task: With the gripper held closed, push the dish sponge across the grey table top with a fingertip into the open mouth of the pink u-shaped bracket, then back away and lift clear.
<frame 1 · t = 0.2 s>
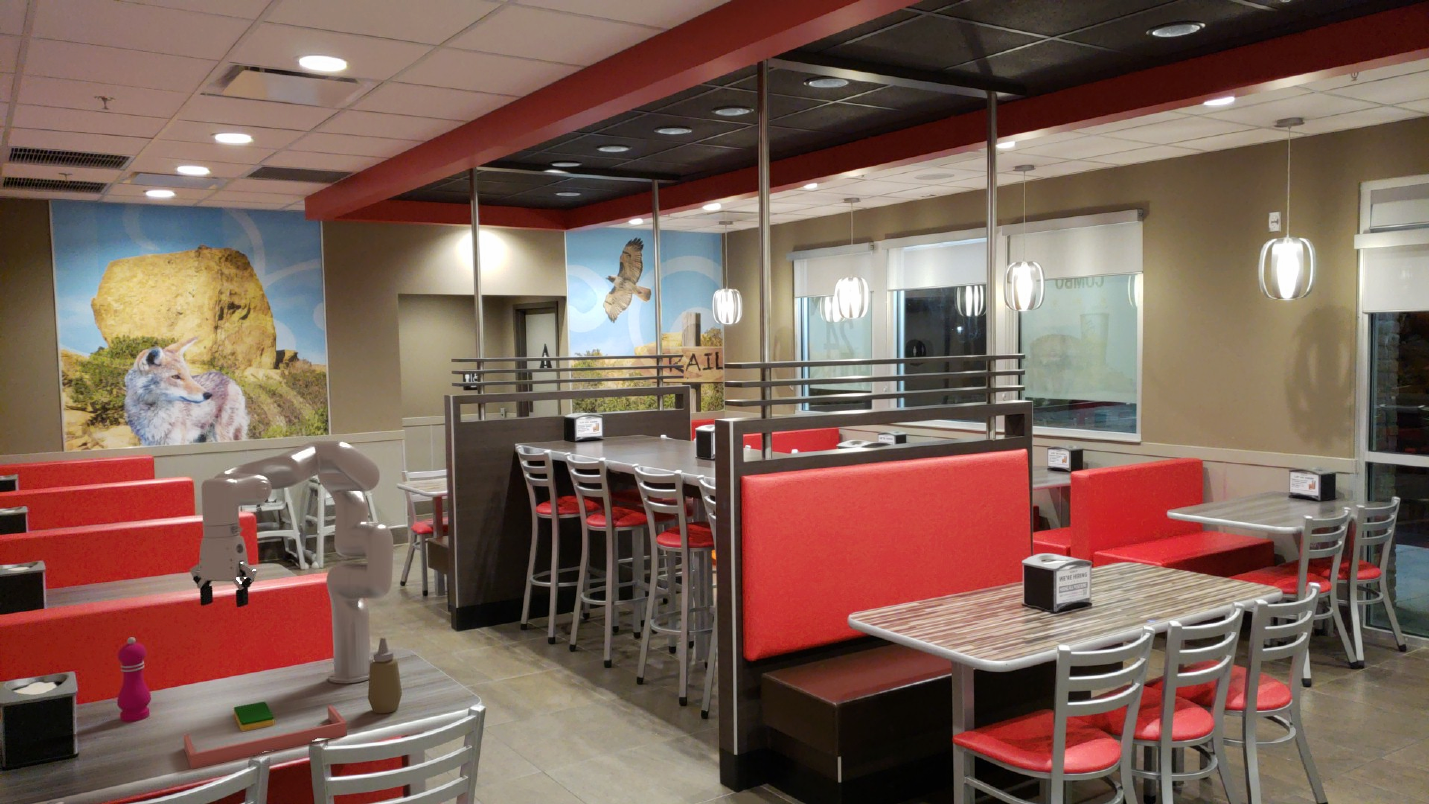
hand: (224, 605, 232), 31 cm above the table, tool pointing down, fingers open, 9 cm apart
dish sponge: (254, 722, 243), on the table
pepper mill: (135, 718, 247), on the table
squeeze bottle: (385, 711, 248), on the table
pink u-shaped bracket: (265, 739, 230), on the table
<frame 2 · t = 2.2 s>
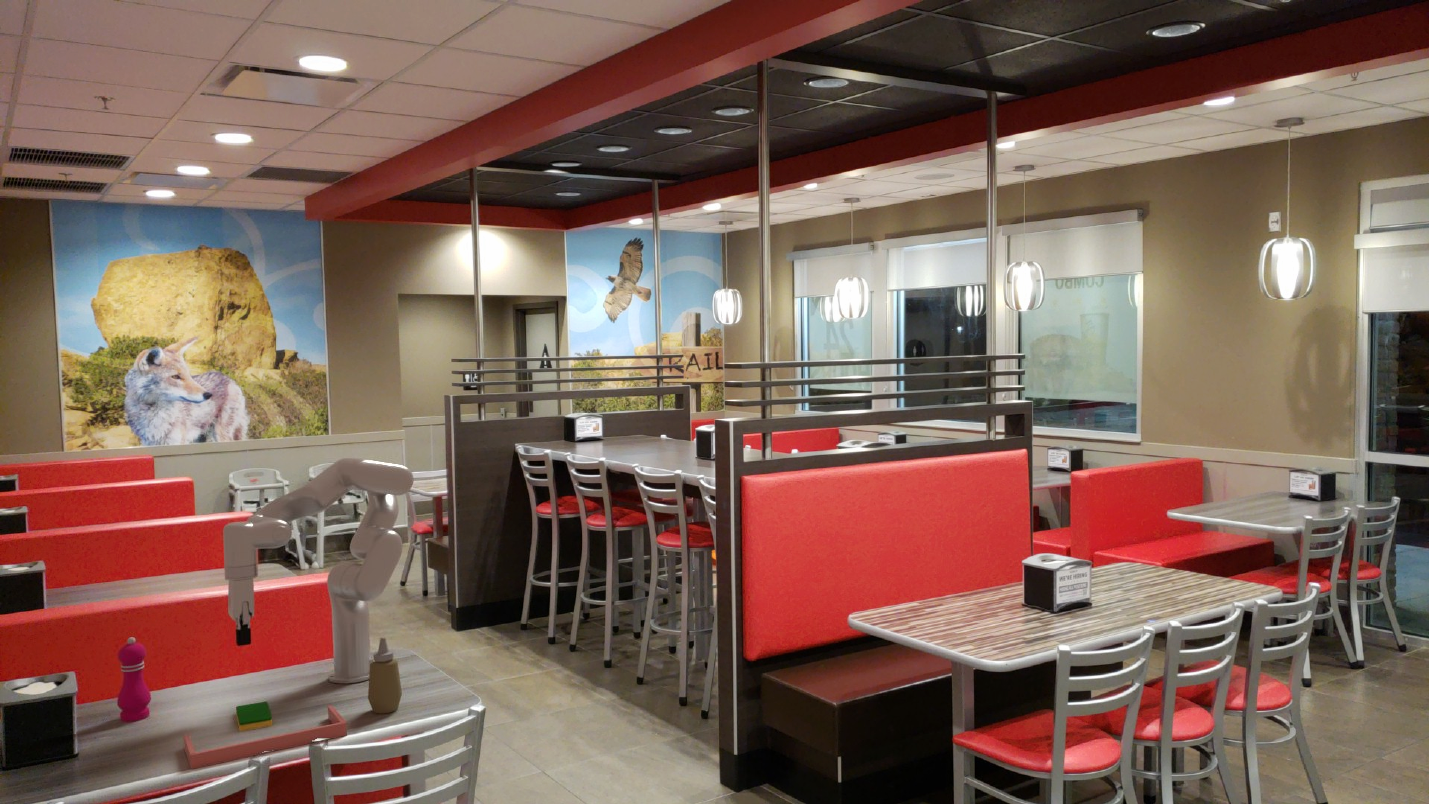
hand: (243, 644, 251), 16 cm above the table, tool pointing down, fingers closed
nothing on the table moved.
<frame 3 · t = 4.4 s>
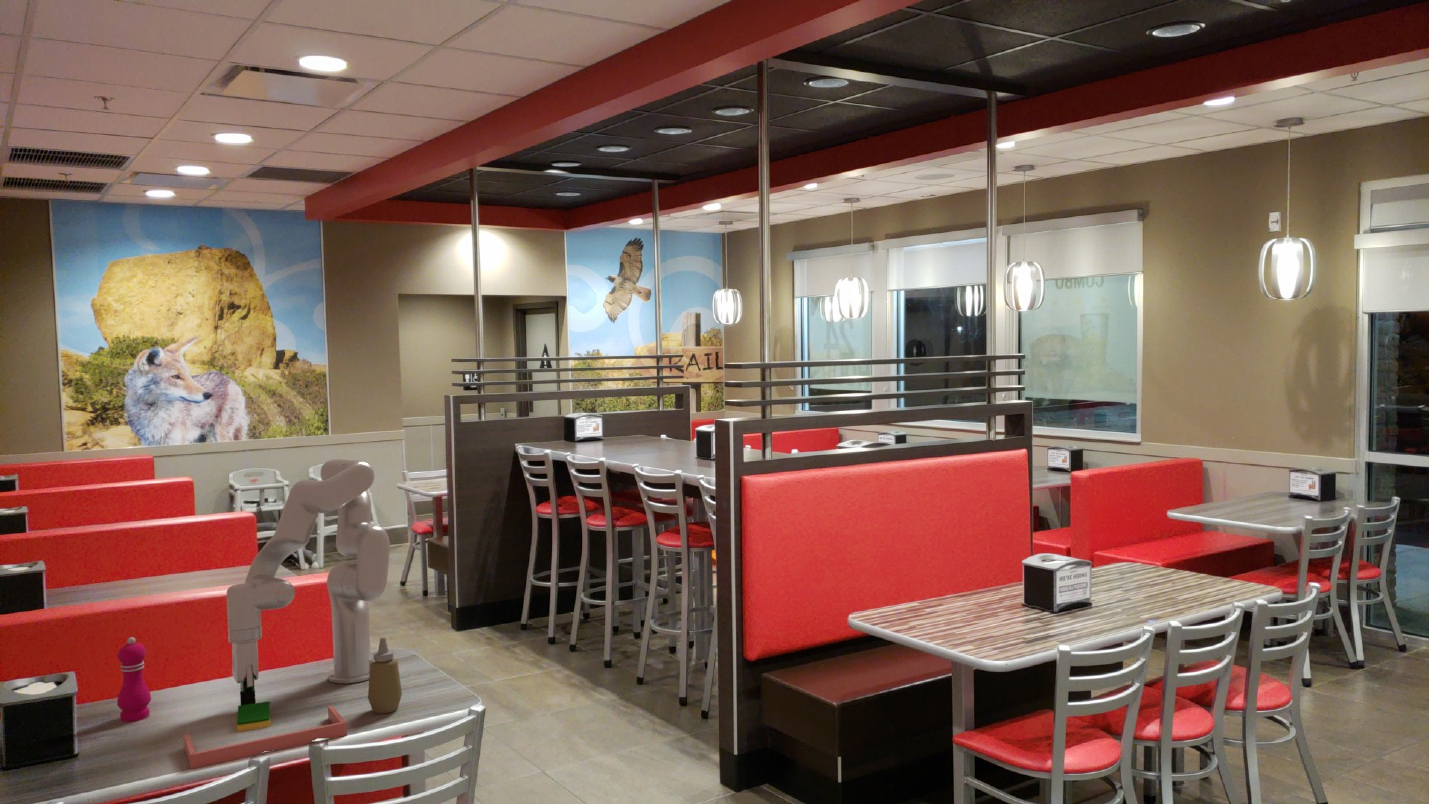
hand: (248, 706, 250), 1 cm above the table, tool pointing down, fingers closed
dish sponge: (254, 722, 243), on the table, touching gripper
everything else where it was.
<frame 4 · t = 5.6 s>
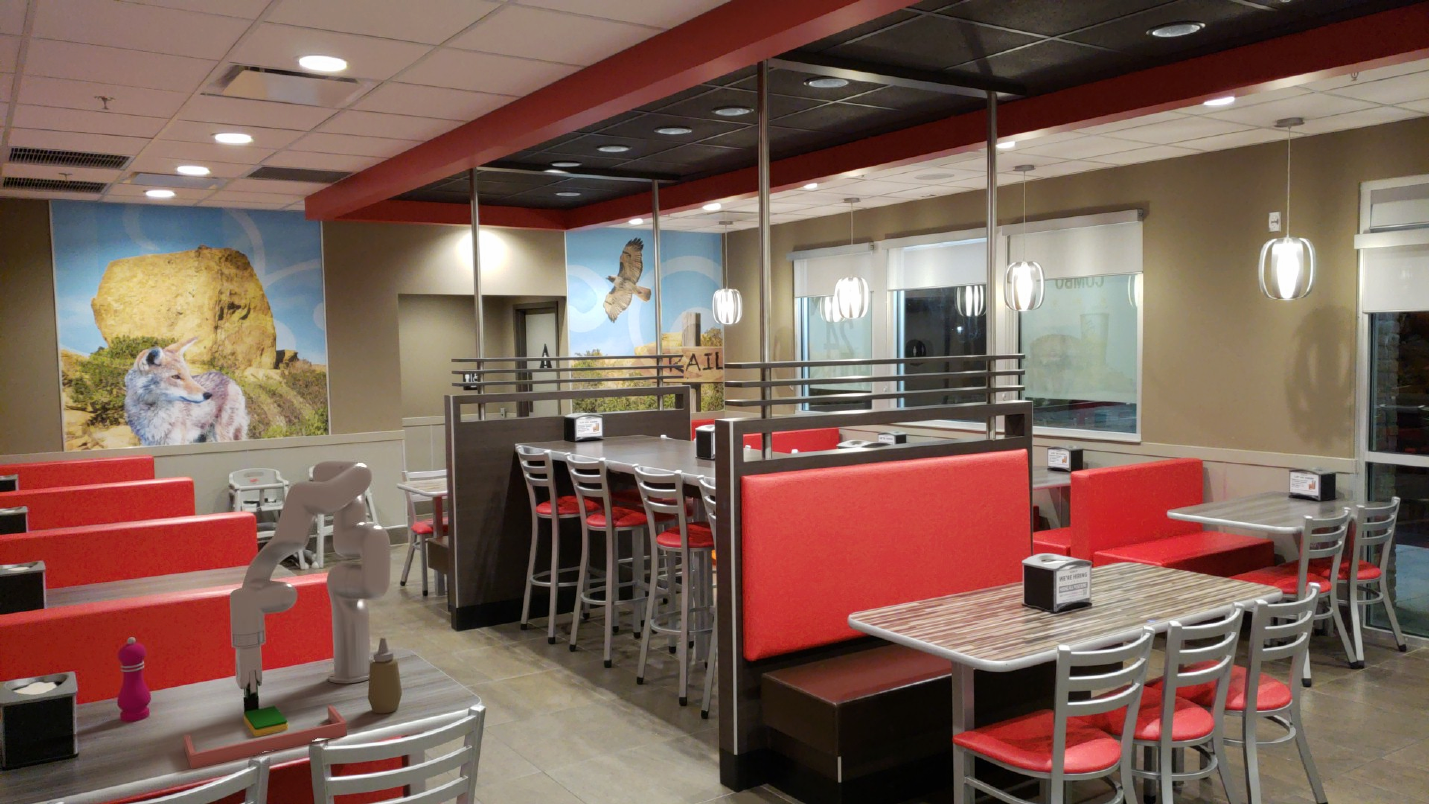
hand: (251, 712, 245), 1 cm above the table, tool pointing down, fingers closed
dish sponge: (265, 726, 239), on the table
everything else where it was.
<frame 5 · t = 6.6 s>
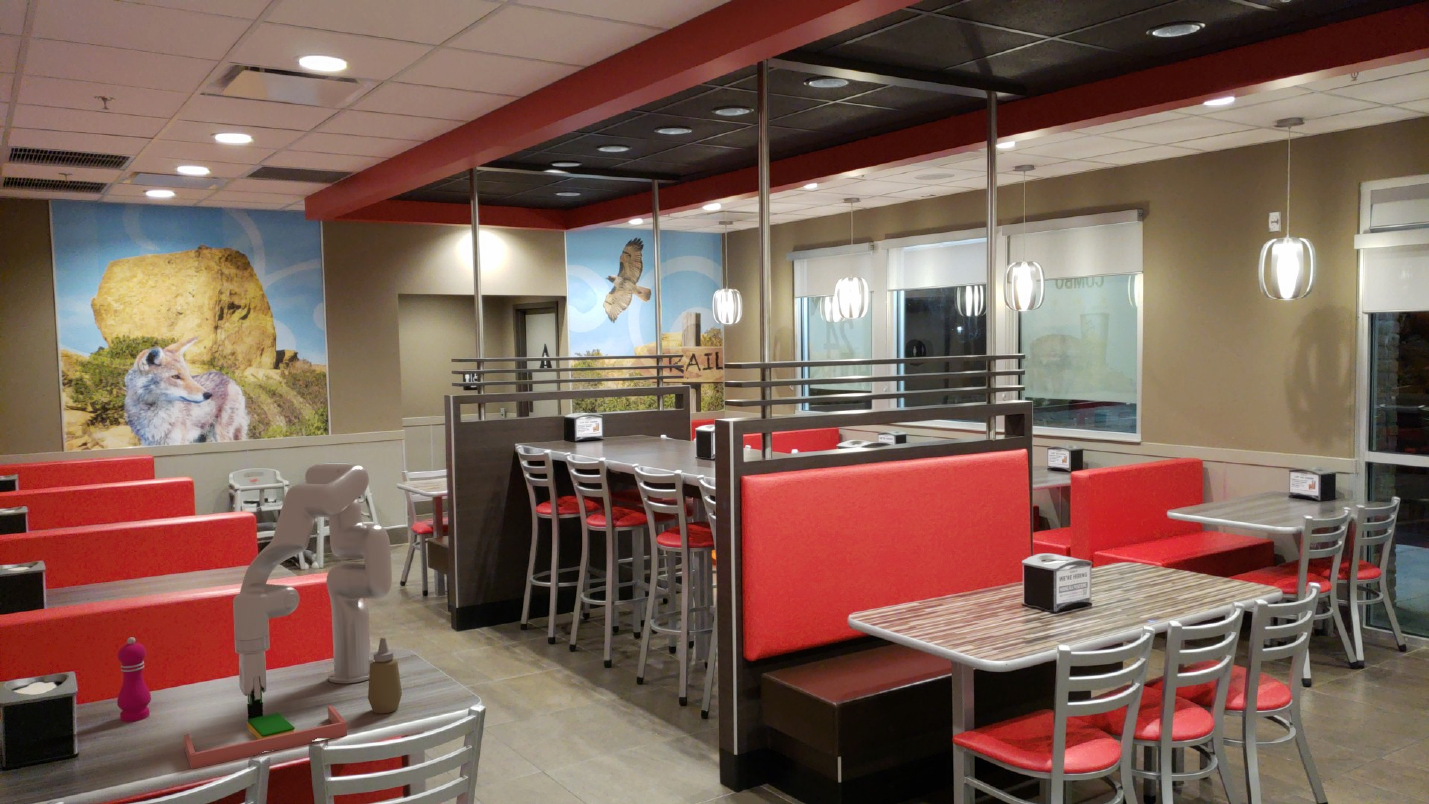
hand: (255, 719, 240), 1 cm above the table, tool pointing down, fingers closed
dish sponge: (271, 734, 235), on the table
everything else where it was.
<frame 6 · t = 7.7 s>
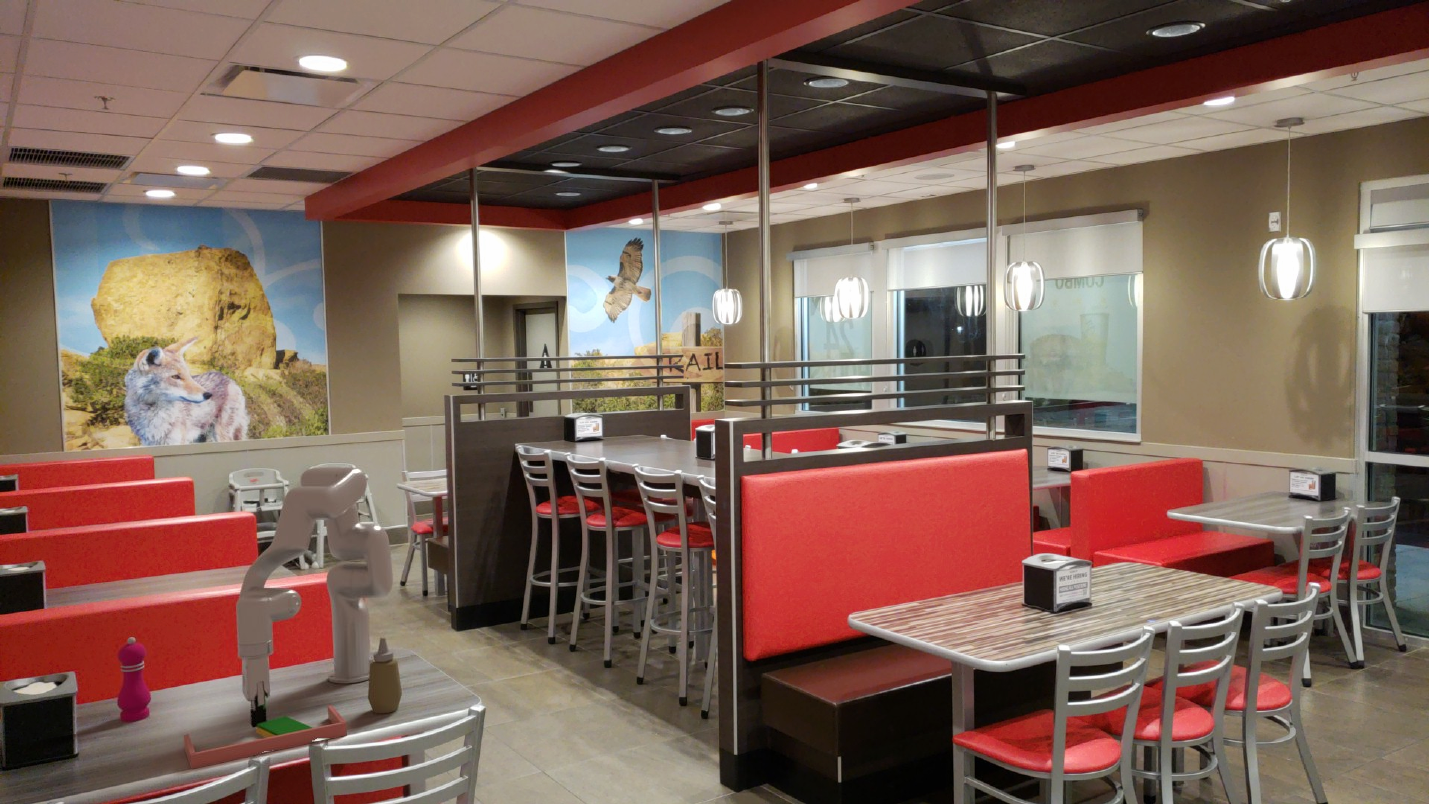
hand: (259, 725, 236), 1 cm above the table, tool pointing down, fingers closed
dish sponge: (285, 737, 232), on the table
everything else where it was.
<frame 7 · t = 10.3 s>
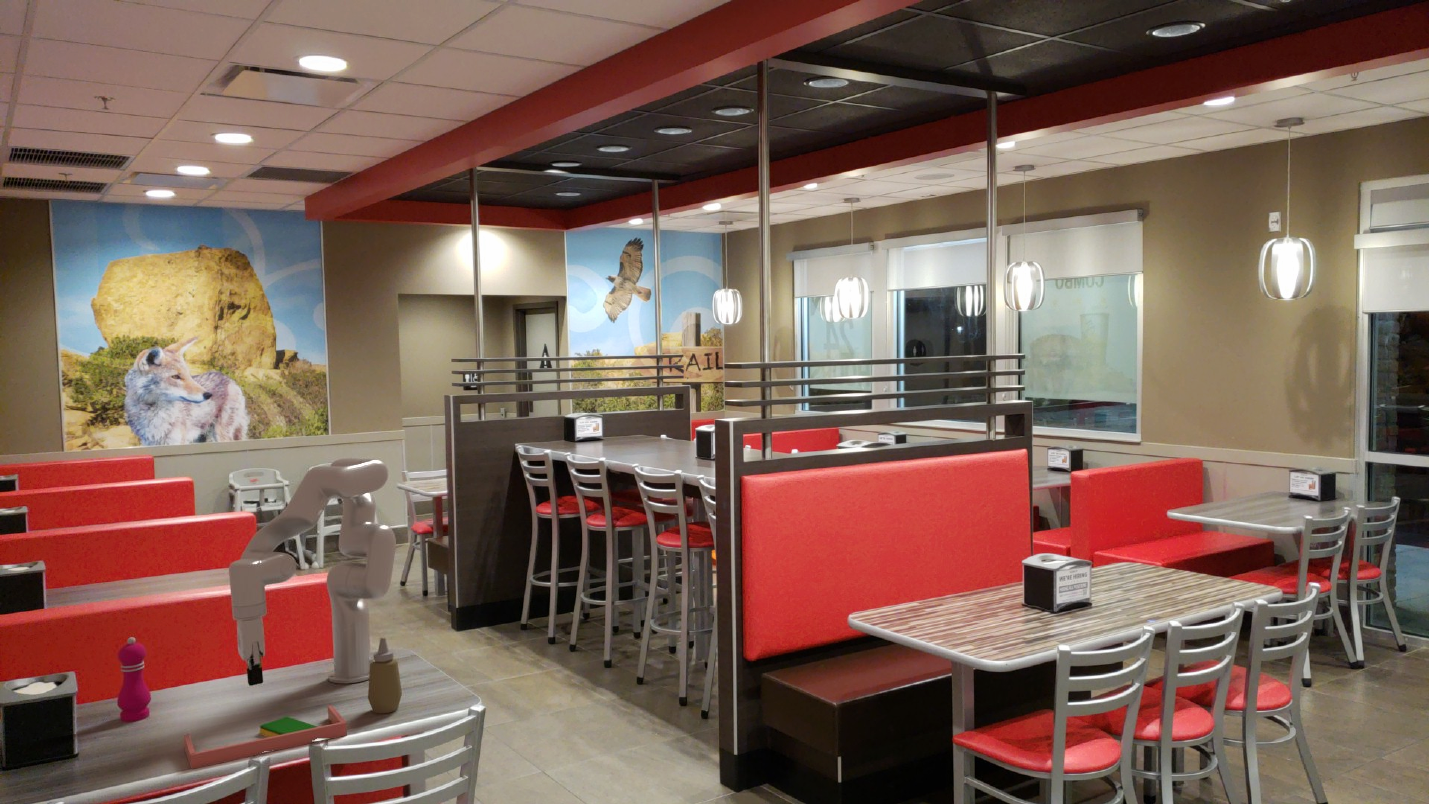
hand: (255, 683, 245), 8 cm above the table, tool pointing down, fingers closed
dish sponge: (290, 737, 233), on the table
everything else where it was.
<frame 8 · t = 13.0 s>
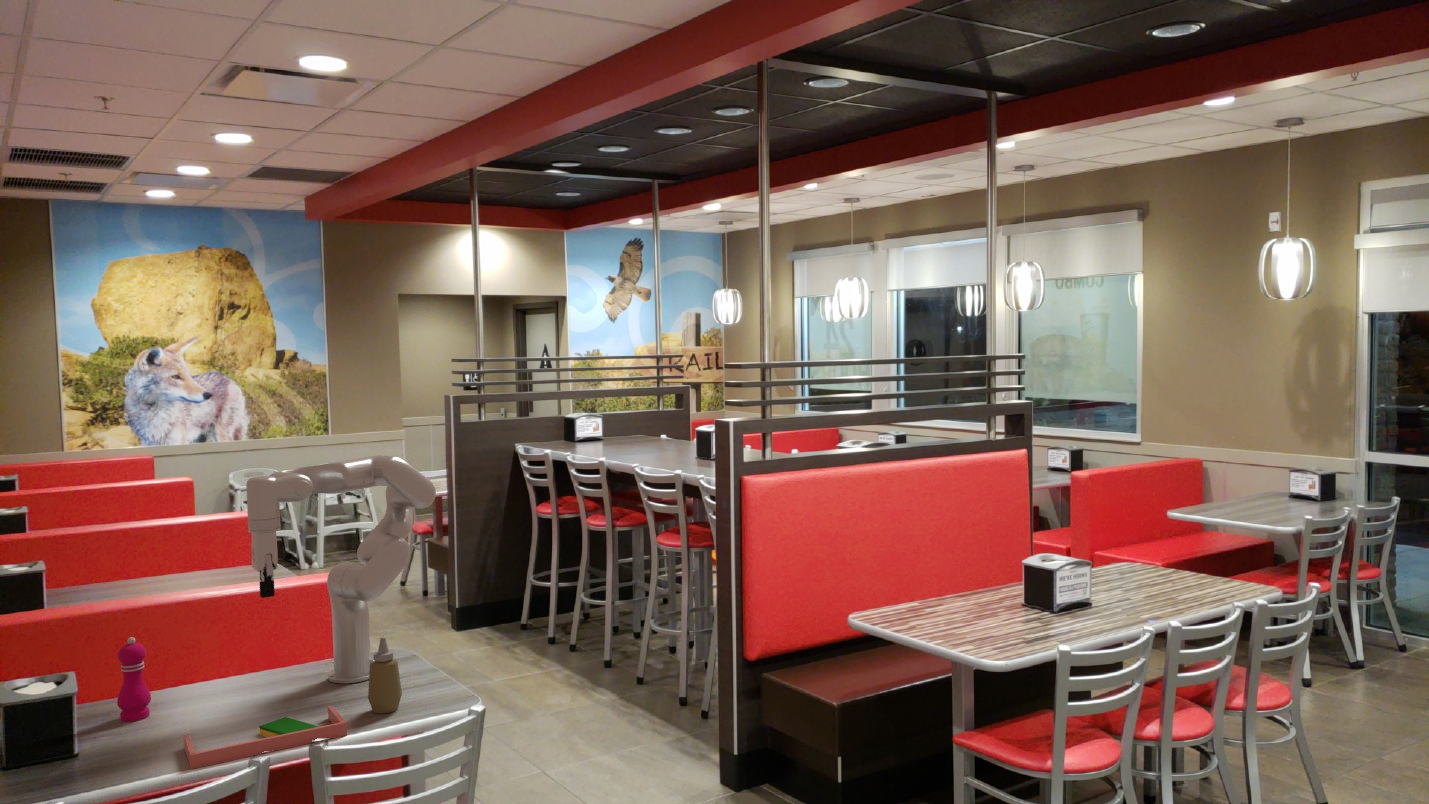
hand: (267, 596, 255), 27 cm above the table, tool pointing down, fingers closed
nothing on the table moved.
at the end: dish sponge inside the target area on the pink u-shaped bracket (5.6 cm from its centre), point -0.7 cm above the pink u-shaped bracket's base; dish sponge moved 17.0 cm from its start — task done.
